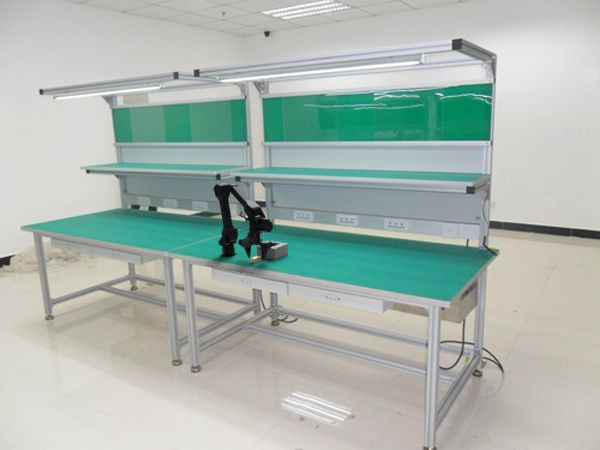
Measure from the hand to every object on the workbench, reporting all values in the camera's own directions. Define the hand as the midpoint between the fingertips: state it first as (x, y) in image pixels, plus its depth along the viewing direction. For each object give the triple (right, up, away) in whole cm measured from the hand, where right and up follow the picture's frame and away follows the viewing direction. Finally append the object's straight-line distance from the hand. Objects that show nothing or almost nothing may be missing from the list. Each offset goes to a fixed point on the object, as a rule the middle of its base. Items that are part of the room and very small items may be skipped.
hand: (256, 259), depth 240 cm
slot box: (+8, +1, +10) cm, 13 cm away
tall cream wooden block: (0, -1, 0) cm, 2 cm away
